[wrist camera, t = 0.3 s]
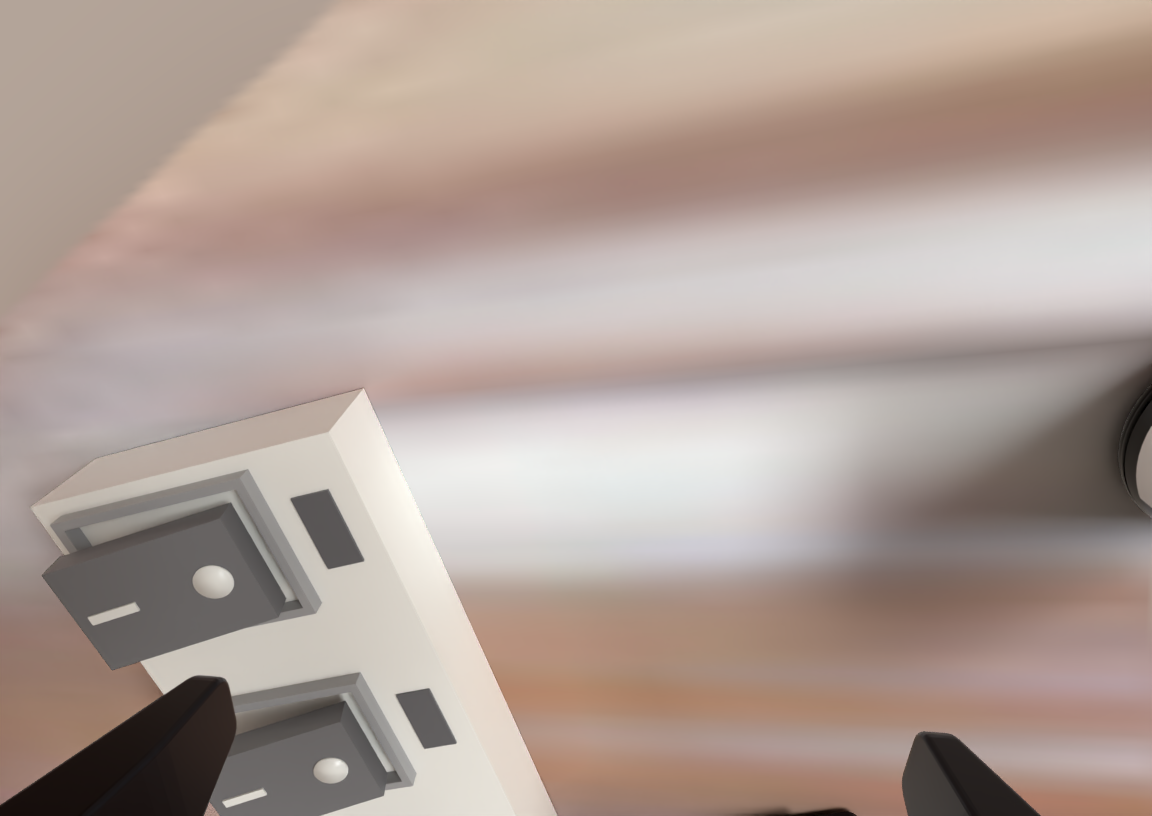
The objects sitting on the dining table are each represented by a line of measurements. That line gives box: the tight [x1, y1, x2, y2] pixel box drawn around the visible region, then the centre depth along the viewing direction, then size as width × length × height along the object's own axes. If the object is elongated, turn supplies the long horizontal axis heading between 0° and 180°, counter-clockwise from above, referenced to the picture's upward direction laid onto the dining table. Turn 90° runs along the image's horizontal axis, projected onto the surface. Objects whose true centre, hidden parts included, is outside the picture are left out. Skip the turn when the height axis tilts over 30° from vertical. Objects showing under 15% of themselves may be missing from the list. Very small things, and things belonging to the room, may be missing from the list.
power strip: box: [30, 388, 557, 816], centre depth 27 cm, size 28×10×4 cm, turn 16°
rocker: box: [42, 502, 287, 670], centre depth 21 cm, size 4×5×1 cm
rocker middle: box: [210, 701, 387, 816], centre depth 24 cm, size 4×5×1 cm
